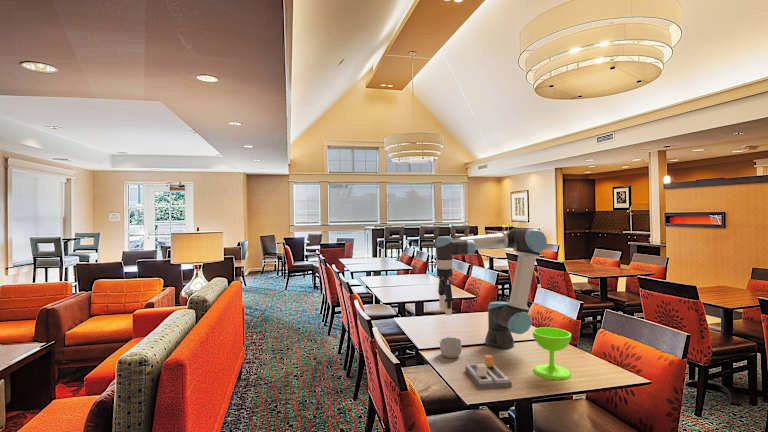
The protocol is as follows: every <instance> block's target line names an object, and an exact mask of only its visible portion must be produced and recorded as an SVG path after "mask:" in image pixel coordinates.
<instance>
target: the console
mask: <svg viewBox="0 0 768 432" xmlns="http://www.w3.org/2000/svg"><path fill="white" fill-rule="evenodd" d="M477 364H478V363H466V364H465V367H464V368H465V369H464V371H465V373H466V374H467V376H468V377H469V378H470V380H471V381H472V382H473V383H474V385H475V386H476V387H477V388H478V390H480V389H481V388H483V389H493V388H494V387H502V388H512V387H513V381H511V380H510V378H508V376H507V375H505V373H504V372H502V371H501V369H499V367H497V366H496V365H495V364H494V366H492V369H488V368H487V376H485V379H481V378H480V377H479V376H478V374H477ZM480 364H484V362H483V363H480ZM494 389H495V388H494Z"/></svg>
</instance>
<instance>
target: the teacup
mask: <svg viewBox="0 0 768 432" xmlns="http://www.w3.org/2000/svg"><path fill="white" fill-rule="evenodd" d="M439 348H440V349H439V350H440V353H441V355H442V356H444V357H445V358H447V359H456V358H458V357H459V356H460V355H461V354H462V340H461V339H460V338H457V337H450V336H447V337H444V338H443V337H442V338H441V339H440V340H439Z"/></svg>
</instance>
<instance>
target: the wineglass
mask: <svg viewBox="0 0 768 432" xmlns="http://www.w3.org/2000/svg"><path fill="white" fill-rule="evenodd" d="M532 336H533V339H534V341H535V342H536V343H537V345H538V346H540V347H541V348H542V349H544V350H546V351H548V352H549V363H548V364H547V363H546V364H545V363H544V364H542V363H541V364H538V365H535V366H534V367H533V369H532V371H533V373H534V374H535V375H537V376H538V377H541V378H544V379H547V380H552V379H555V380H554V381H561V380H560V379H566V380H569V379H571V378H572V377H571V376H572V372H571V371H570V370H568V369H567V368H565V367H562V366H561V365H556V364H555V352H560V351H562V350H564V349H565V348H567V346H569V344H570V342H571V340H572V333H571V332H569V331H568V330H565V329H561V328H556V327H546V326H545V327H536V328H534V329H533V330H532ZM570 377H571V378H570ZM568 378H569V379H568Z"/></svg>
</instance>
